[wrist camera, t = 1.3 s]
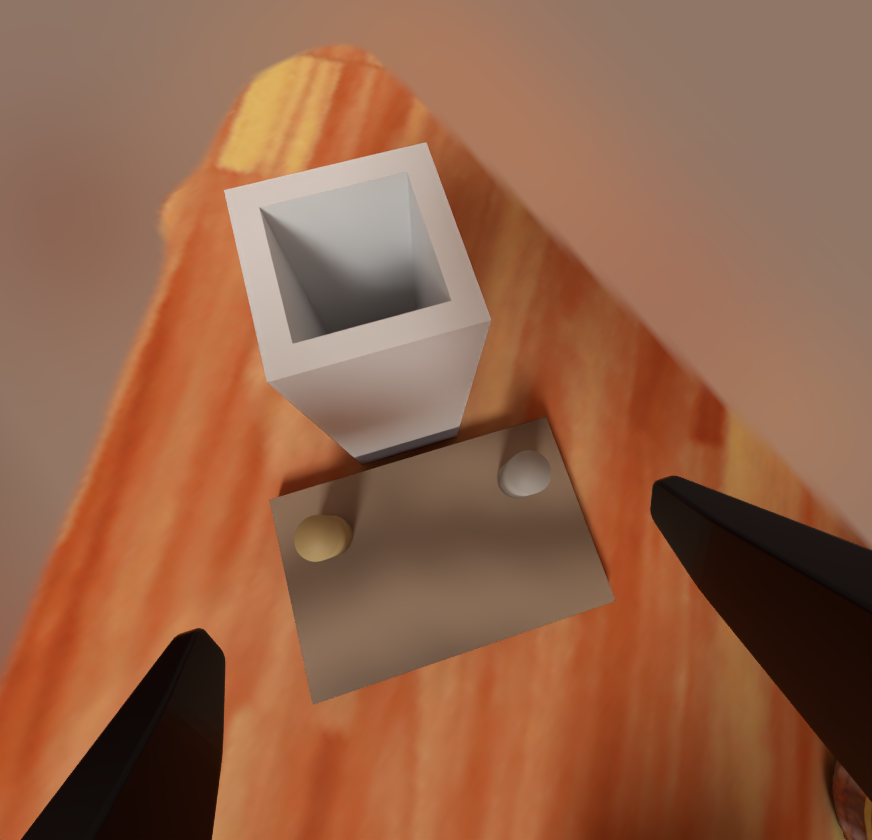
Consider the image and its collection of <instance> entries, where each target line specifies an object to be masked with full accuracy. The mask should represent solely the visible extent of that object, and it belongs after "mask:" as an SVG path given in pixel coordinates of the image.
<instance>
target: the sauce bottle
mask: <svg viewBox="0 0 872 840" xmlns="http://www.w3.org/2000/svg"><path fill="white" fill-rule="evenodd" d="M832 791H833V799H834V804H835V809H836V814H837V817H838V821H839V823H840V826H841V828H842V830H843V834H844V837H845V839H846V840H872V802H871V801H870V800H869V799H868V797H867V796H866V795H865V794H864V792H863V791H862V790H861V789H860V788H859V786H858V785H857V784H856V783H855V781H854V780H853V779H852V778H851V776H850V775H849V774H848V773H847V771H846V770H845V769H844V768H843V767H842V765H841V764H840V763H839V762H838V760H837V761H836V763H835V767H834V775H833V790H832Z"/></svg>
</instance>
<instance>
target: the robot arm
mask: <svg viewBox="0 0 872 840" xmlns="http://www.w3.org/2000/svg"><path fill="white" fill-rule="evenodd" d="M650 510H651V515H652V518H653V520H654V522H655V524H656V525H657V527H658V528H659V530H660V531H661V533H662V534H663V536H664V537H665V539H666V540H667V542H668V543H669V545H670V546H671V548H672V549H673V551H674V552H675V554H676V556H677V557H678V559H679V560H680V562H681V563H682V565H683V566H684V568H685V569H686V571H687V572H688V574H689V575H690V577H691V578H692V580H693V581H694V583H695V584H696V585H697V587H698V588H699V590H700V591H701V592H702V593H703V595H704V596H705V597H706V599H707V600H708V601H709V602H710V604H711V605H712V606H713V607H714V608H715V610H716V611H717V612H718V613H719V615H720V616H721V617H722V618H723V620H724V621H725V622H726V623H727V625H728V626H729V627H730V628H731V629H732V631H733V632H734V633H735V634H736V636H737V637H738V638H739V639H740V641H741V642H742V643H743V644H744V646H745V647H746V648H747V649H748V650H749V652H750V653H751V654H752V655H753V657H754V658H755V659H756V660H757V662H758V663H759V664H760V665H761V667H762V668H763V669H764V670H765V671H766V673H767V674H768V675H769V676H770V678H771V679H772V680H773V681H774V683H775V684H776V685H777V686H778V688H779V689H780V690H781V691H782V692H783V694H784V695H785V696H786V697H787V699H788V700H789V701H790V702H791V704H792V705H793V706H794V707H795V708H796V710H797V711H798V712H799V713H800V715H801V716H802V717H803V718H804V720H805V721H806V722H807V723H808V725H809V726H810V727H811V728H812V729H813V731H814V732H815V733H816V734H817V736H818V737H819V738H820V739H821V741H822V742H823V743H824V744H825V746H826V747H827V748H828V749H829V750H830V752H831V753H832V754H833V755H834V757H835V758H836V759H837V760H838V762H839V763H840V764H841V765H842V767H843V768H844V769H845V770H846V771H847V773H848V774H849V775H850V776H851V778H852V779H853V780H854V781H855V783H856V784H857V785H858V786H859V788H860V789H861V790H862V791H863V792H864V794H865V795H866V796H867V797H868V799H869V800H870V801H871V802H872V550H870V549H867V548H865V547H862V546H859V545H857V544H854V543H851V542H849V541H846V540H844V539H841V538H838V537H836V536H833V535H831V534H828V533H825V532H823V531H820V530H817V529H815V528H812V527H810V526H807V525H804V524H802V523H799V522H797V521H794V520H791V519H789V518H786V517H783V516H781V515H778V514H776V513H773V512H770V511H768V510H765V509H763V508H760V507H757V506H755V505H752V504H749V503H747V502H744V501H742V500H739V499H736V498H734V497H731V496H729V495H726V494H723V493H721V492H718V491H715V490H713V489H710V488H708V487H705V486H702V485H700V484H697V483H694V482H692V481H689V480H687V479H684V478H681V477H678V476H669V477H666V478H663V479H660V480H657V481H655V483H654V484H653V488H652V498H651V508H650ZM224 697H225V657H224V654H223V651H222V650H221V648H220V647H219V646H218V645H217V644H216V643H215V641H214V640H213V639H212V638H211V637H210V636H209V635H208V633H207V632H206V631H205V630H204V629H201V628H197V629H193V630H190V631H187V632H184V633H181V634H179V635H177V636H176V637H175V638H174V639H173V640H172V641H171V643H170V644H169V645H168V646H167V648H166V649H165V650H164V652H163V653H162V654H161V656H160V657H159V658H158V660H157V661H156V662H155V664H154V665H153V666H152V668H151V669H150V670H149V671H148V673H147V674H146V675H145V677H144V678H143V679H142V681H141V682H140V683H139V685H138V686H137V687H136V689H135V690H134V691H133V693H132V694H131V695H130V696H129V698H128V699H127V700H126V702H125V703H124V704H123V706H122V707H121V708H120V710H119V711H118V712H117V714H116V715H115V716H114V718H113V719H112V720H111V721H110V723H109V724H108V725H107V727H106V728H105V729H104V731H103V732H102V733H101V735H100V736H99V737H98V739H97V740H96V741H95V743H94V744H93V745H92V746H91V748H90V749H89V750H88V752H87V753H86V754H85V756H84V757H83V758H82V760H81V761H80V762H79V764H78V765H77V766H76V768H75V769H74V770H73V772H72V773H71V774H70V775H69V777H68V778H67V779H66V781H65V782H64V783H63V785H62V786H61V787H60V789H59V790H58V791H57V793H56V794H55V795H54V797H53V798H52V799H51V800H50V802H49V803H48V804H47V806H46V807H45V808H44V810H43V811H42V812H41V814H40V815H39V816H38V818H37V819H36V820H35V822H34V823H33V824H32V825H31V827H30V828H29V829H28V831H27V832H26V833H25V835H24V836H23V837H22V839H21V840H212V834H213V826H214V818H215V811H216V803H217V795H218V787H219V779H220V772H221V763H222V753H223V732H224Z"/></svg>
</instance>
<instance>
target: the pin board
mask: <svg viewBox="0 0 872 840" xmlns="http://www.w3.org/2000/svg"><path fill="white" fill-rule="evenodd" d="M270 504H271V509H272V514H273V519H274V523H275V528H276V533H277V537H278V542H279V547H280V552H281V556H282V561H283V566H284V571H285V575H286V580H287V585H288V590H289V594H290V599H291V604H292V609H293V613H294V618H295V623H296V627H297V632H298V637H299V642H300V646H301V651H302V656H303V661H304V665H305V670H306V675H307V680H308V684H309V689H310V694H311V699H312V703H313V704H316V703H319V702H322V701H325V700H328V699H331V698H334V697H337V696H340V695H343V694H346V693H348V692H351V691H354V690H357V689H360V688H363V687H366V686H369V685H372V684H375V683H378V682H381V681H383V680H386V679H389V678H392V677H395V676H398V675H401V674H404V673H407V672H410V671H413V670H416V669H419V668H421V667H424V666H427V665H430V664H433V663H436V662H439V661H442V660H445V659H448V658H451V657H454V656H456V655H459V654H462V653H465V652H468V651H471V650H474V649H477V648H480V647H483V646H486V645H489V644H491V643H494V642H497V641H500V640H503V639H506V638H509V637H512V636H515V635H518V634H521V633H524V632H526V631H529V630H532V629H535V628H538V627H541V626H544V625H547V624H550V623H553V622H556V621H559V620H561V619H564V618H567V617H570V616H573V615H576V614H579V613H582V612H585V611H588V610H591V609H594V608H596V607H599V606H602V605H605V604H608V603H611V602H614V601H615V598H614V596H613V593H612V590H611V588H610V585H609V582H608V580H607V577H606V574H605V572H604V569H603V566H602V564H601V561H600V558H599V556H598V553H597V550H596V548H595V545H594V543H593V540H592V537H591V535H590V532H589V529H588V527H587V524H586V521H585V519H584V516H583V513H582V511H581V508H580V505H579V503H578V500H577V497H576V495H575V492H574V490H573V487H572V484H571V482H570V479H569V476H568V474H567V471H566V468H565V466H564V463H563V460H562V458H561V455H560V452H559V450H558V447H557V444H556V442H555V439H554V437H553V434H552V431H551V429H550V426H549V423H548V421H547V418H546V417H543V418H540V419H536V420H533V421H530V422H526V423H523V424H520V425H516V426H513V427H510V428H506V429H503V430H500V431H496V432H493V433H490V434H486V435H483V436H480V437H476V438H473V439H470V440H466V441H463V442H460V443H456V444H453V445H450V446H446V447H443V448H440V449H436V450H433V451H430V452H426V453H423V454H420V455H416V456H413V457H410V458H406V459H403V460H400V461H396V462H393V463H390V464H386V465H383V466H380V467H376V468H373V469H370V470H366V471H363V472H360V473H356V474H353V475H350V476H346V477H343V478H340V479H336V480H333V481H330V482H326V483H323V484H320V485H316V486H313V487H310V488H306V489H303V490H300V491H296V492H293V493H290V494H286V495H283V496H280V497H276V498H273V499H270Z"/></svg>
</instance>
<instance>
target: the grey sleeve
mask: <svg viewBox="0 0 872 840" xmlns="http://www.w3.org/2000/svg"><path fill="white" fill-rule="evenodd" d="M224 192H225V196H226V201H227V205H228V210H229V214H230V219H231V223H232V228H233V232H234V237H235V241H236V246H237V250H238V254H239V259H240V263H241V268H242V272H243V277H244V281H245V286H246V290H247V295H248V299H249V304H250V308H251V313H252V317H253V321H254V326H255V330H256V335H257V339H258V344H259V348H260V353H261V357H262V362H263V366H264V371H265V375H266V379H267V383H269V384H270V385H271V386H272V387H273V388H274V389H275V390H277V391H278V392H279V393H280V394H281V395H282V396H284V397H285V398H286V399H287V400H288V401H289V402H290V403H292V404H293V405H294V406H295V407H296V408H297V409H298V410H300V411H301V412H302V413H303V414H304V415H305V416H307V417H308V418H309V419H310V420H311V421H312V422H313V423H315V424H316V425H317V426H318V427H319V428H320V429H322V430H323V431H324V432H325V433H326V434H327V435H328V436H330V437H331V438H332V439H333V440H334V441H335V442H337V443H338V444H339V445H340V446H341V447H342V448H343V449H345V450H346V451H347V452H348V453H349V454H350V455H351V456H353V457H354V458H355V459H356V460H357V461H358V462H360V463H361V464H362V465H365V464H368V463H371V462H375V461H378V460H381V459H385V458H388V457H391V456H395V455H398V454H401V453H405V452H408V451H412V450H415V449H418V448H422V447H425V446H428V445H432V444H435V443H438V442H442V441H445V440H448V439H452V438H455V437H457V433H458V430H459V427H460V423H461V420H462V417H463V413H464V410H465V407H466V403H467V400H468V397H469V393H470V390H471V387H472V383H473V380H474V377H475V373H476V370H477V367H478V363H479V360H480V357H481V353H482V350H483V347H484V343H485V340H486V337H487V333H488V330H489V327H490V323H491V317H490V315H489V312H488V309H487V306H486V304H485V301H484V298H483V295H482V293H481V290H480V287H479V285H478V282H477V279H476V276H475V274H474V271H473V268H472V265H471V263H470V260H469V257H468V255H467V252H466V249H465V246H464V244H463V241H462V238H461V235H460V233H459V230H458V227H457V225H456V222H455V219H454V216H453V214H452V211H451V208H450V205H449V203H448V200H447V197H446V195H445V192H444V189H443V186H442V184H441V181H440V178H439V175H438V173H437V170H436V167H435V165H434V162H433V159H432V156H431V154H430V151H429V148H428V145H427V143H426V142H425V143H421V144H416V145H412V146H408V147H404V148H400V149H395V150H391V151H387V152H383V153H378V154H374V155H370V156H366V157H362V158H357V159H353V160H349V161H345V162H341V163H336V164H332V165H328V166H324V167H320V168H315V169H311V170H307V171H303V172H299V173H294V174H290V175H286V176H282V177H278V178H273V179H269V180H265V181H261V182H257V183H252V184H248V185H244V186H240V187H236V188H231V189H227V190H224Z"/></svg>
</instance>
